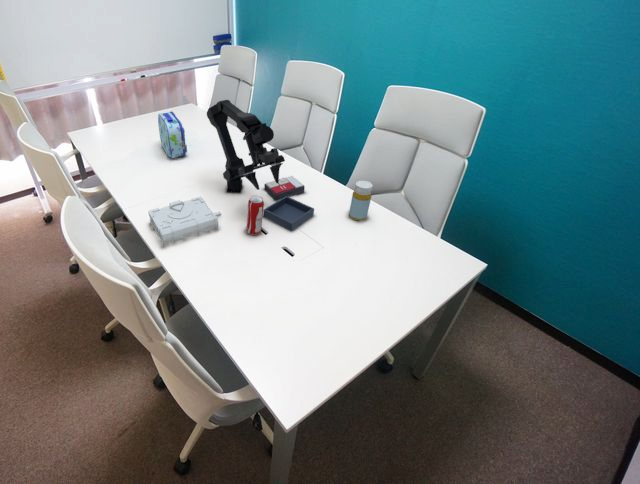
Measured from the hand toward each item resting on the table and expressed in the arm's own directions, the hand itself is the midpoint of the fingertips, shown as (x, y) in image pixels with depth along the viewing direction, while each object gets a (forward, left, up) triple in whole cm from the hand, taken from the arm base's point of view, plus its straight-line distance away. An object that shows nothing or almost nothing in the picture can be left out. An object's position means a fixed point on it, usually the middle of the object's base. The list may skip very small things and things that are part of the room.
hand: (268, 186), depth 135 cm
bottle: (+37, +2, -14) cm, 39 cm away
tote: (+9, 0, -14) cm, 16 cm away
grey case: (-31, -9, -14) cm, 35 cm away
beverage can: (-4, -11, -14) cm, 19 cm away
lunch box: (-56, +60, -14) cm, 84 cm away
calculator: (+7, +20, -14) cm, 26 cm away
